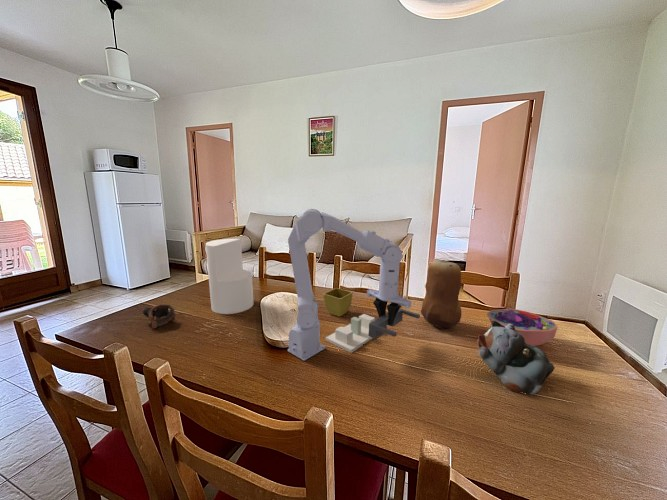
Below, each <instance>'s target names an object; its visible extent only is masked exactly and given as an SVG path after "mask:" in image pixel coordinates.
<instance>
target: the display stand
mask: <svg viewBox="0 0 667 500" xmlns="http://www.w3.org/2000/svg"><path fill="white" fill-rule="evenodd" d="M374 320H376V317H374V316H370V315H368V314H365V313H363V314H361V315H359V316H358V317H357V316H353V317H351V318H350V323H349V324H347V325H346V326H339V327H337V328H335V331H334V332H332V333H331V334H329V335H327V336H326V337H325V341H327V342H328V343H331V344H332V345H334V346H336V347H339V348H340V349H343V350H345V351H346V352H349V353H350V352H351V354H352V353H353V352H355V351H356V350H358V349H359V348H361V347H362V346H363V344H364V345H365V344H366V343H368V342H370V341H371V340H372V339H373V338H372V337H370V336H369V323H371V322H373V321H374Z"/></svg>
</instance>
